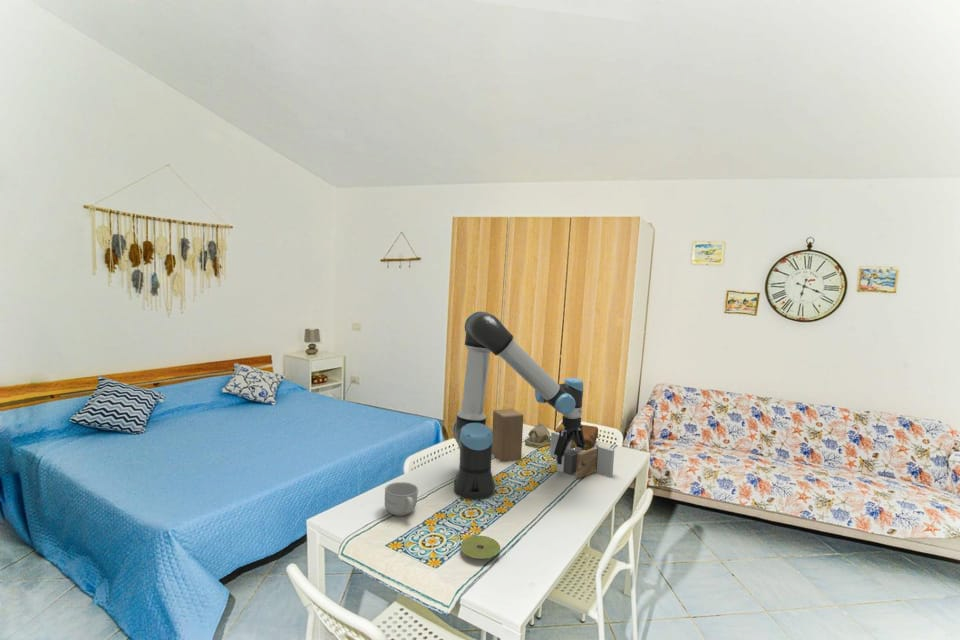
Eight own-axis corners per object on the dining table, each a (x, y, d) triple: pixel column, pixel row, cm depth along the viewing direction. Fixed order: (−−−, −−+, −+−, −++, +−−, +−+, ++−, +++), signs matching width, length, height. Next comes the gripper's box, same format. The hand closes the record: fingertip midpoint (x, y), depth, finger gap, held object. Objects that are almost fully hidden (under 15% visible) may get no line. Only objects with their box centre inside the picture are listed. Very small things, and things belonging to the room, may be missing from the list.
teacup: (381, 505, 155) (382, 482, 154) (413, 501, 159) (414, 478, 158) (388, 526, 142) (389, 501, 141) (423, 521, 146) (424, 497, 145)
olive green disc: (487, 538, 138) (488, 531, 138) (507, 558, 128) (507, 551, 128) (453, 547, 132) (453, 540, 132) (471, 569, 123) (471, 562, 122)
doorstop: (571, 475, 186) (572, 455, 185) (558, 470, 190) (559, 451, 189) (578, 471, 190) (580, 452, 190) (566, 466, 194) (567, 448, 194)
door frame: (609, 477, 185) (611, 450, 184) (549, 456, 205) (551, 432, 204) (612, 475, 187) (614, 449, 186) (552, 455, 206) (554, 431, 205)
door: (600, 471, 190) (601, 446, 189) (581, 480, 181) (582, 453, 180) (595, 469, 191) (596, 444, 190) (575, 477, 183) (577, 451, 182)
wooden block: (490, 453, 205) (492, 410, 203) (510, 451, 209) (512, 408, 208) (501, 462, 196) (503, 416, 194) (521, 459, 200) (523, 414, 198)
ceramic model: (536, 437, 230) (537, 417, 230) (555, 442, 223) (557, 422, 223) (520, 444, 219) (521, 423, 219) (540, 450, 212) (541, 429, 212)
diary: (591, 453, 213) (592, 441, 213) (551, 446, 220) (552, 434, 219) (597, 437, 234) (598, 426, 234) (561, 431, 241) (561, 421, 241)
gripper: (563, 424, 177) (560, 478, 178) (595, 412, 195) (592, 461, 197) (547, 419, 182) (544, 472, 184) (579, 408, 200) (576, 456, 202)
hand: (568, 466), depth 190 cm, fingers open, 13 cm apart
